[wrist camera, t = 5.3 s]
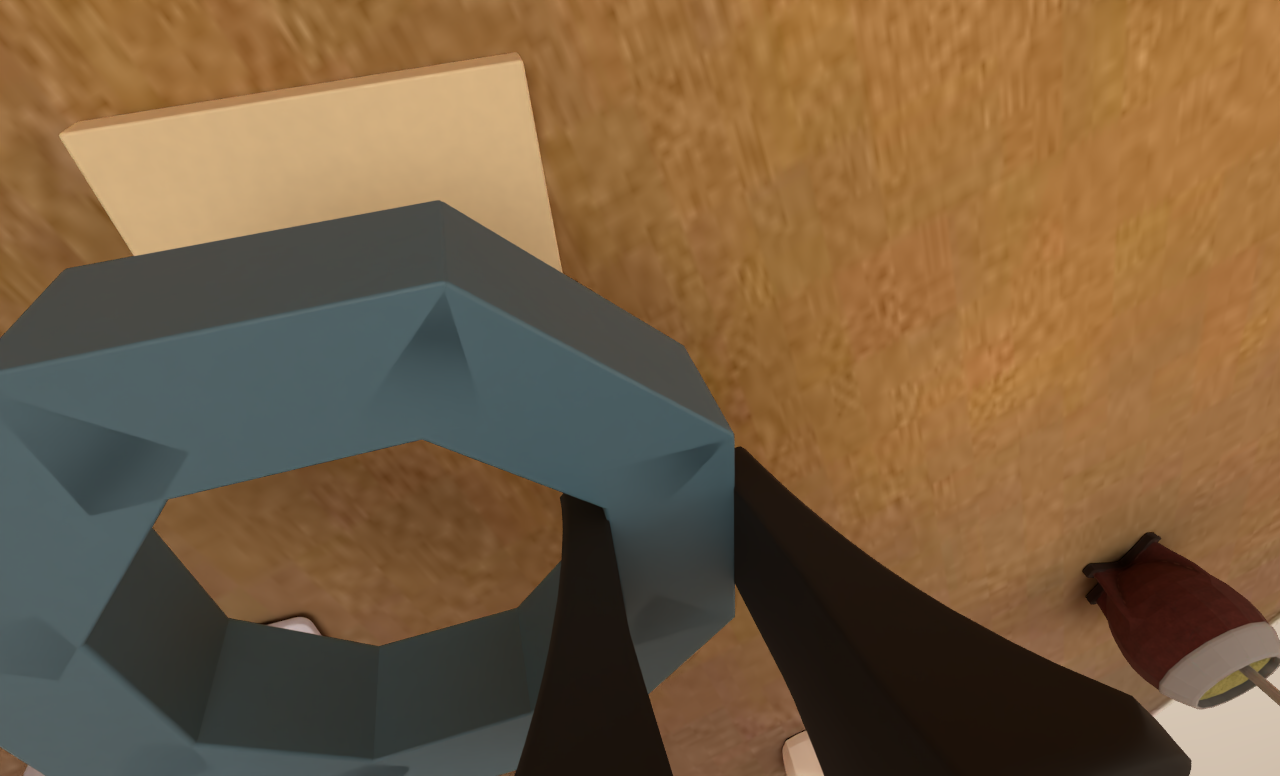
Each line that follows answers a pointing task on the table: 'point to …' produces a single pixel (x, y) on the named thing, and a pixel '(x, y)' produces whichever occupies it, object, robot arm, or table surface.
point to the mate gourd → (1184, 627)
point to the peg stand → (325, 157)
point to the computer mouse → (800, 757)
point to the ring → (312, 434)
